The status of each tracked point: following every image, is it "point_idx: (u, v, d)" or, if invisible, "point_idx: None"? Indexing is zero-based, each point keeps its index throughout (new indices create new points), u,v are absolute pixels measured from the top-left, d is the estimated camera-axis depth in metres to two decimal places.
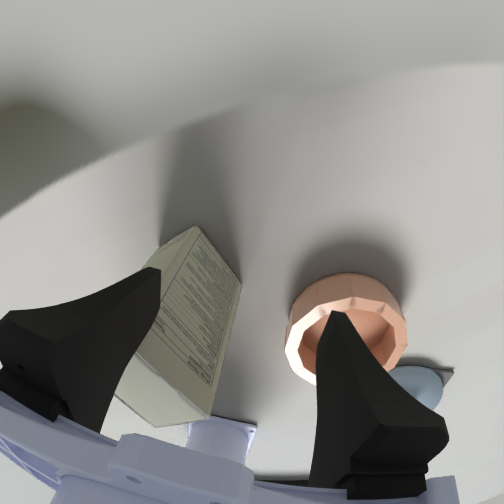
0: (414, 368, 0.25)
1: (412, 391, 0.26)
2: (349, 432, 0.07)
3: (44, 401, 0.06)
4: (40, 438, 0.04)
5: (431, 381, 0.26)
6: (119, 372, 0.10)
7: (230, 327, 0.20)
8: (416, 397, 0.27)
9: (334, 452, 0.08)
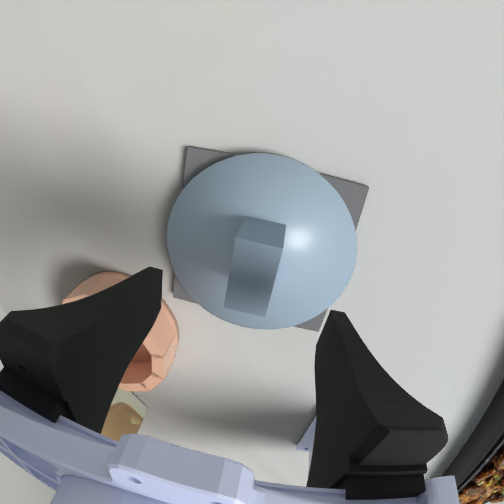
0: (168, 238, 0.19)
1: (218, 227, 0.18)
2: (348, 432, 0.07)
3: (45, 401, 0.06)
4: (40, 438, 0.04)
5: (191, 199, 0.17)
6: (120, 373, 0.10)
7: None
8: (237, 215, 0.17)
9: (333, 452, 0.08)
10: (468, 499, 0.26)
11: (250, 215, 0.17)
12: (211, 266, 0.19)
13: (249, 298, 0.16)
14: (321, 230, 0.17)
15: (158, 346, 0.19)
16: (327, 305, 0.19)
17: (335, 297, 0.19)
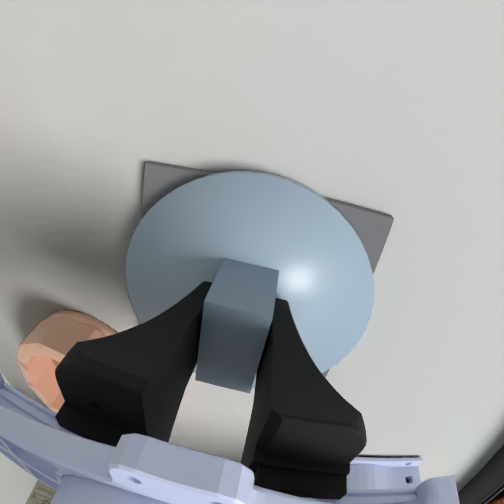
0: (128, 280, 0.14)
1: (189, 272, 0.13)
2: (259, 419, 0.07)
3: None
4: (40, 438, 0.04)
5: (152, 234, 0.13)
6: (182, 393, 0.10)
7: None
8: (212, 256, 0.13)
9: (251, 440, 0.08)
10: None
11: (230, 257, 0.13)
12: None
13: (228, 372, 0.11)
14: (327, 277, 0.12)
15: None
16: (331, 364, 0.14)
17: (342, 355, 0.14)
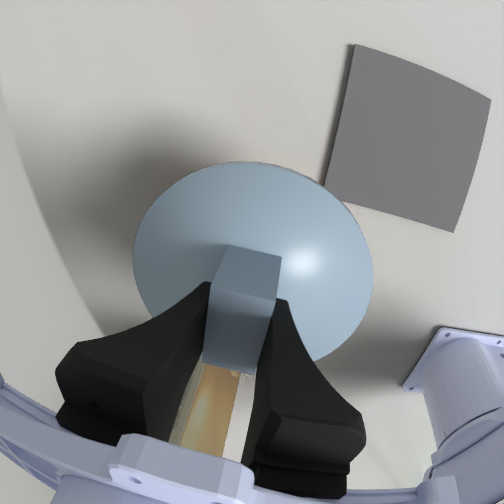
0: (135, 267, 0.15)
1: (195, 258, 0.14)
2: (259, 419, 0.07)
3: None
4: (40, 438, 0.04)
5: (159, 222, 0.13)
6: (182, 393, 0.10)
7: (199, 369, 0.21)
8: (217, 243, 0.13)
9: (251, 440, 0.08)
10: None
11: (235, 244, 0.13)
12: None
13: (233, 355, 0.12)
14: (328, 263, 0.13)
15: None
16: (332, 348, 0.15)
17: (342, 340, 0.15)
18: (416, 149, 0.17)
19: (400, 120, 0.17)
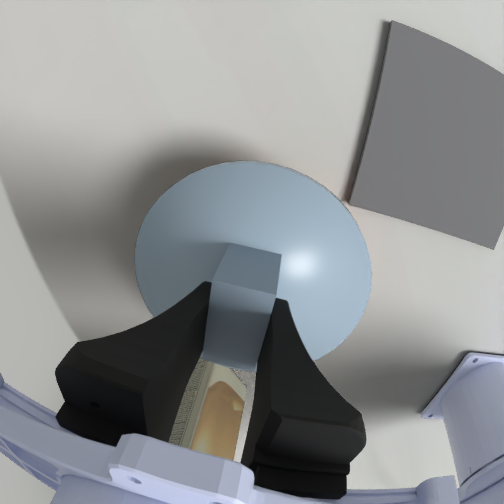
0: (137, 266, 0.15)
1: (196, 257, 0.14)
2: (259, 419, 0.07)
3: None
4: (40, 438, 0.04)
5: (161, 220, 0.13)
6: (182, 393, 0.10)
7: (197, 408, 0.17)
8: (218, 241, 0.13)
9: (251, 440, 0.08)
10: None
11: (236, 242, 0.13)
12: None
13: (233, 351, 0.12)
14: (327, 261, 0.13)
15: None
16: (332, 347, 0.15)
17: (342, 338, 0.15)
18: (461, 151, 0.13)
19: (444, 115, 0.13)
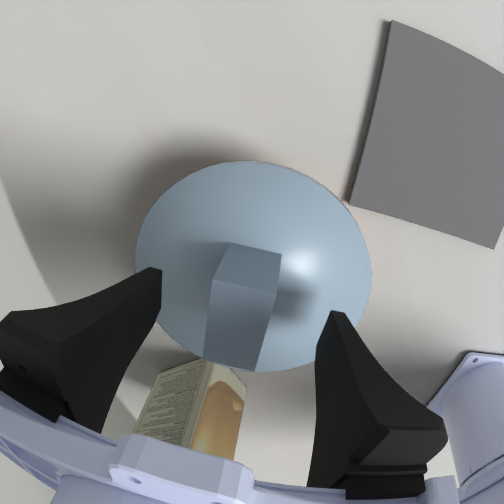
0: (137, 266, 0.15)
1: (196, 257, 0.14)
2: (348, 432, 0.07)
3: (45, 401, 0.06)
4: (39, 437, 0.04)
5: (162, 220, 0.13)
6: (120, 373, 0.10)
7: (197, 408, 0.17)
8: (218, 241, 0.13)
9: (333, 452, 0.08)
10: None
11: (236, 242, 0.13)
12: (189, 301, 0.15)
13: (233, 351, 0.12)
14: (327, 260, 0.13)
15: None
16: None
17: None
18: (461, 151, 0.13)
19: (444, 115, 0.13)
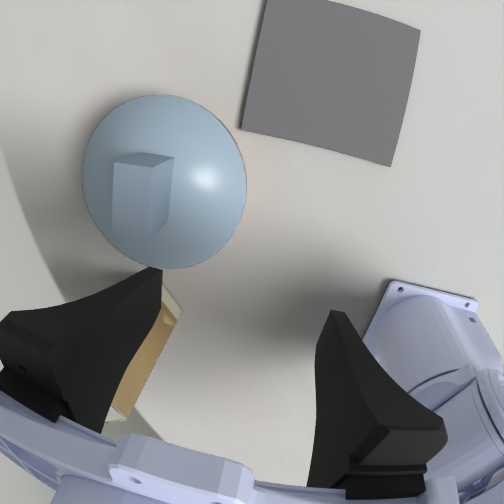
0: (84, 181, 0.19)
1: None
2: (348, 432, 0.07)
3: (45, 401, 0.06)
4: (40, 438, 0.04)
5: (98, 142, 0.17)
6: (120, 373, 0.10)
7: None
8: (133, 152, 0.17)
9: (333, 452, 0.08)
10: None
11: (144, 151, 0.17)
12: None
13: (131, 221, 0.16)
14: (206, 159, 0.17)
15: None
16: (224, 241, 0.19)
17: (231, 231, 0.19)
18: (336, 79, 0.17)
19: (317, 53, 0.17)
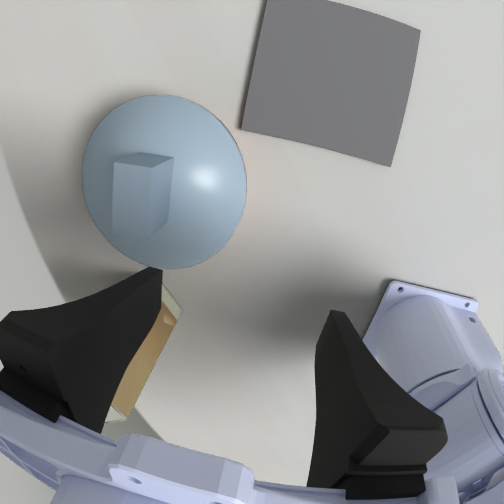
0: (84, 181, 0.19)
1: None
2: (348, 432, 0.07)
3: (45, 401, 0.06)
4: (40, 438, 0.04)
5: (98, 142, 0.17)
6: (120, 373, 0.10)
7: None
8: (133, 152, 0.17)
9: (333, 452, 0.08)
10: None
11: (144, 151, 0.17)
12: None
13: (131, 221, 0.16)
14: (206, 159, 0.17)
15: None
16: (224, 241, 0.19)
17: (231, 231, 0.19)
18: (336, 79, 0.17)
19: (317, 53, 0.17)
